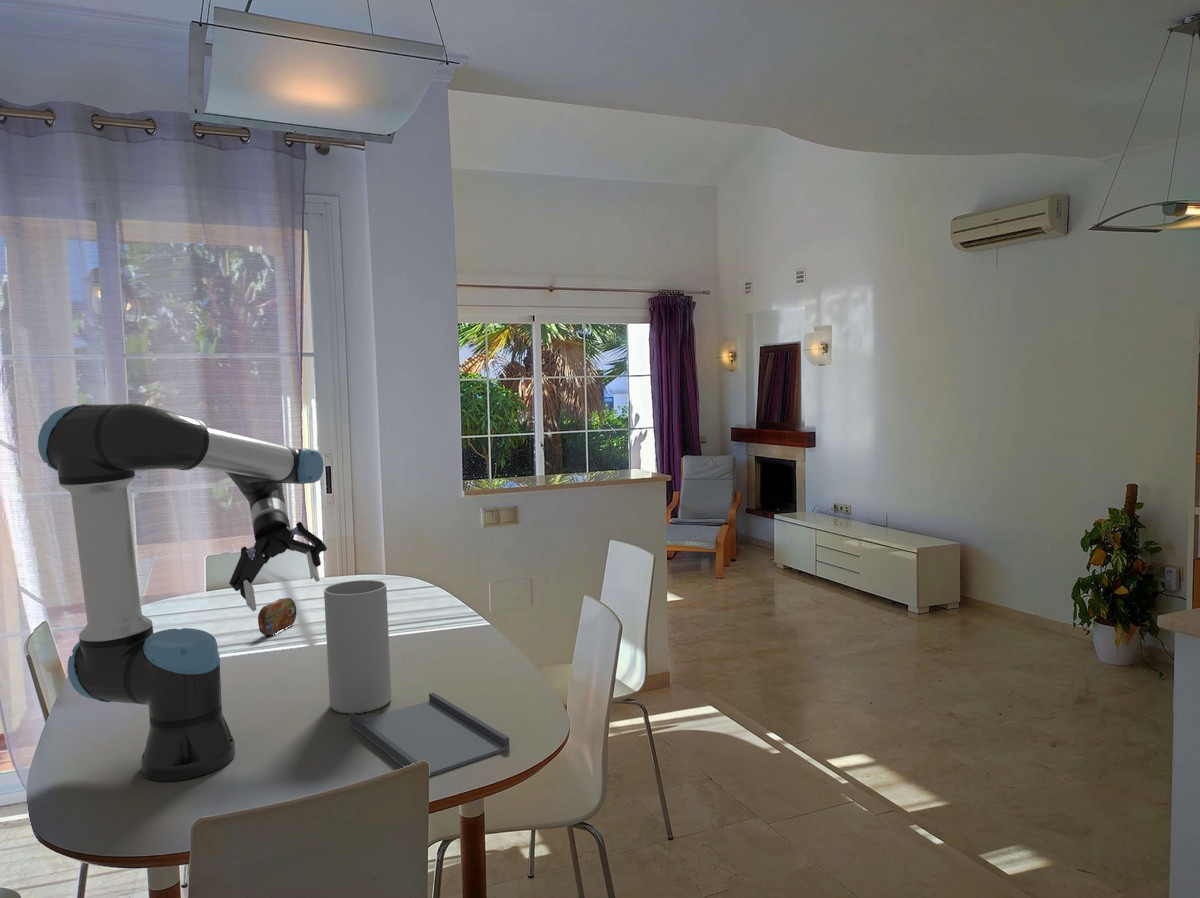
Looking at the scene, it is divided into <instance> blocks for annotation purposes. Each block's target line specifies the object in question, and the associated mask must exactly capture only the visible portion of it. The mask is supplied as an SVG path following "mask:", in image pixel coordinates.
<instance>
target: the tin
mask: <svg viewBox="0 0 1200 898" xmlns="http://www.w3.org/2000/svg"><path fill="white" fill-rule="evenodd" d="M296 619H297V605H296V603H295V601H294V600H293V598H291V597H285V598H284V597H283V598H279V599H276V600H275V601H273V602H270V603H268V604H266V605H264V606H263V607H261V608H260V611H259V612H258V616H257V621H258V622H257V623H258V624H257V625H258V629H259V632H260V633H261V635H263V636H272V635H273V634H275V633H277V632H278V631H280V630H282V629H285V628H286V627H288V626H290V625H292V624H293V625H294V623H295V621H296ZM293 625H292V626H293Z"/></svg>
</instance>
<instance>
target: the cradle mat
mask: <svg viewBox="0 0 1200 898" xmlns="http://www.w3.org/2000/svg"><path fill="white" fill-rule="evenodd" d="M428 700H429V701H428ZM428 700H427V701H424V702H420V703H417V704H413V705H411V706H406V707H403V708H399V709H397V710H396V709H395V710H392V711H388V712H384V713H382V714H377V715H375V716H370V717H366V718H361V716H359V715H358V714H349V715H350V716H349V717H350V718H349V719H350V727H352V726H353V727H354V728H355V729H356V731H357V732H358V731H359V732H360V733H361V734H360V733H359V732H358V733H359V734H360V735H362V734H363V735H364V736H365V737H366V738H365V739H367V740H368V741H369V740H370V741H371V742H370V741H369V742H370V743H372V742H373V743H374V744H375V745H377V746H378V747H379V748H380V749H381V750H380V749H379V748H378V747H377V746H376V747H377V748H378V749H379V750H380V751H382V750H383V751H384V752H385V753H386V754H385V753H384V752H383V751H382V752H383V753H384V754H385V755H387V754H388V755H389V756H390V757H391V758H390V757H389V756H388V755H387V756H388V757H389V758H390V759H392V760H393V761H394V762H395V763H397V765H399V766H400V767H401V768H403V766H407V765H410V764H412V763H416V762H418V761H422V760H426V761H428V762H429V764H430V776H429V777H433V776H434V775H437V774H438V775H439V774H440V773H444V772H447V771H449V770H452V769H453V770H454V769H455V768H459V767H462V766H464V765H467V764H470V763H472V762H475V761H479V760H482V759H485V758H488V757H491V756H495V755H497V754H500V753H502V752H503V753H504V752H505V751H509V750H510V737H508V735H505V734H504V733H502V732H500V731H499V730H497V729H495V728H494V727H492V726H490V725H489V724H487V723H485V722H483V720H480V719H478V718H477V717H475V716H474V715H472V714H470V713H468V712H467V711H465V710H464V709H462V708H460V707H458V706H457V705H455V704H454V703H452V702H450V701H449V700H447V699H445V698H444V697H442V696H440V695H439V694H437V693H435V692H434V691H433V692H430V693H428ZM353 727H352V728H353ZM354 728H353V729H354ZM355 729H354V730H355ZM363 735H362V736H363ZM364 736H363V737H364ZM373 743H372V744H373ZM374 744H373V745H374ZM375 745H374V746H375Z"/></svg>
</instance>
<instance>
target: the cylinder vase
mask: <svg viewBox="0 0 1200 898" xmlns="http://www.w3.org/2000/svg"><path fill="white" fill-rule="evenodd" d="M387 591H388V590H387V583H386V582H384V581H382V580H371V579H368V580H367V579H366V580H365V579H362V580H361V579H360V580H350V581H345V582H339V583H334V584H331V585H328V586H327V587H325V588H324V589H323V596H324V597H323V598H324V614H325V616H324V618H325V619H324V620H325V635H326V636H325V637H326V652H327V654H326V655H327V670H328V671H327V675H328V688H329V689H328V691H329V692H328V694H329V706H330V707H331V709H332V710H333V711H335V712H336V713H339V714H345V713H347V715H352V714H355V713H358V714H364V712H366V713H370V712H373V710H374V711H377V710H380V709H381V707H382V708H384V707H385V706H387V705H388V704H389V703H390V702H391V700H392V676H391V674H392V673H391V658H390V657H391V656H390V655H391V653H390V639H389V636H390V635H389V617H388V613H389V612H388V593H387ZM376 709H377V710H376ZM369 711H370V712H369Z"/></svg>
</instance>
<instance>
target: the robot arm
mask: <svg viewBox="0 0 1200 898" xmlns="http://www.w3.org/2000/svg"><path fill="white" fill-rule="evenodd" d="M37 450H38V453H39V455H40V458H41V460H42V461H43V462H44V463H46V464H47V466H48V468H50V469H53V470H54V471H56V472H57V476H58V485H59V486H60V488H63V489H64V490H66V491H67V492H69V494H70V496H71V498H70V499H71V504H72V505H71V506H72V511H73V520H74V527H75V535H76V543H77V552H78V559H79V567H80V577H81V583H82V591H83V598H84V599H83V601H84V606H85V614H86V615H85V616H86V622H87V624H86V626H84V628H82V630H81V631H80V632H79V634H78V639H79V640H78V642H77V643H76V644H75V645H74V646H73V648H72V650H71V653H72V654H71V655H70V656H69V657H68V662H67V674H68V675H67V676H68V679H69V680H68V681H69V682H70V684H71V686H72V687H73V689H74V690H75V691H76V692H77V693H78V694H80V695H81V696H82V697H84V698H87V699H90V700H96V701H99V702H102V703H103V702H104V703H113V702H115V703H124V704H133V705H134V704H135V705H147V706H148V712H149V713H148V714H149V715H148V716H149V731H148V734H147V739H146V743H145V747H144V752H143V753H142V756H141V759H140V764H141V767H140V768H141V774H142V776H143V777H145V778H146V779H148V780H151V781H156V782H175V781H176V782H177V781H183V780H184V781H185V780H190V779H193V778H198V777H201V776H205V775H208V774H210V773H212V772H215V771H217V770H219V769H222V768H224V767H225V766H226V765H227V764H229V763H230V762H231V761H233V759H234V758H235V755H236V744H235V743H236V742H235V739H234V737H233V735H232V734H231V731H230V728H229V726H228V723H227V722H226V719H225V717H224V715H223V705H222V684H221V682H222V681H221V665H220V664H221V658H220V653H219V648H218V642H217V639H216V638H215V637H214V636H213V635H212V634H211V633H210V632H208V631H206V630H202V629H198V628H197V629H196V628H188V627H183V628H179V629H178V628H169V629H168V628H167V629H163V630H160V631H156V632H154V628H153V627H154V625H153V621H152V620H151V619H150V618H149V617H147V616H145V615H143V612H142V604H141V596H140V588H139V579H138V571H137V562H136V555H135V554H136V553H135V547H134V546H135V545H134V536H133V528H132V519H131V511H130V504H129V495H128V486H129V485H130V483H131V482H132V481H133V480H135V478H136V472H135V471H147V470H149V471H150V470H163V469H164V470H179V471H191V470H193V469H195V468H201V469H205V470H206V469H207V470H213V471H219V472H224V473H225V474H227V475H228V477H229V478H230V479H231V480H232V482H233V483H234V484H235V485H236V487H237V488H238V489H239V491H240V492H241V493H242V494H243V496H244V497H245V498H246V500H247V502H248V504H249V510H250V515H251V524H252V529H253V535H254V540H255V542H254V545H253V546H251V547H248V548H247V546H242V547H241V549H240V555H239V556H240V557H239V559H238V561H237V564H236V566H235V568H234V571H233V573H232V576H231V578H230V580H229V582H228V583H229V585H230V586H231V588H233V590H234V591H236V592H239V591H240V593H239V594H240V595H241V597H242V598H243V599H244V600H245V603H246V605H247V606H248V607H249V609H250V610H251V611H252V612H255V611H257V605H256V597H255V591H254V590H255V589H254V586H253V585H252V583H253V582H254V580H255V579H256V577H257V575H258V574H259V572H260V571H261V570H262V568H263V567H264V565H265V564H267V563H268V562H269V560H270V559H271V558H275V557H276V556H278V555H279V554H284V553H285V552H286V551H287V550H288V551H289V550H290V551H292V552H294V551H296V552H297V553H302V554H304V555H306V559H307V563H308V568H309V573H310V576H311V578H313V580H314V581H315V582H316V583H318V582H319V581H321V578H320V575H319V569H318V567H320V566H321V565H322V563H321V559H320V558H321V557H320V553H322V552H326V551H327V549H328V547H327V546H326V544H325V543H324V541H323V540H322V539H320V538H319V537H318V536H316V535H314V533H312V532H310V531H309V530H308V529H307V528H306V527H305V526H304V524H303V522H301V521H299V522H297V523H296V524H295V525H296V526H295V527H293V528H291V525H290V519H289V514H288V510H287V509H288V508H287V506H286V505H287V504H286V501H285V497H284V496H285V495H284V494H285V493H284V488H283V484H291V485H292V484H295V485H296V484H297V485H305V484H314V483H315V484H316V483H317V482H318V481H319V480H320V479H321V477H322V475H323V473H324V465H325V464H324V459H323V456H322V454H321V453H320V452H319V451H318V450H316V449H314V448H305V447H303V448H294V447H290V446H285V445H281V444H276V443H273V442H270V441H269V442H268V441H264V440H262V439H257V438H252V437H248V436H244V435H240V434H236V433H231V432H229V431H224V430H220V429H217V428H211V427H208V426H206V424H205V423H204V422H203V421H201V420H200V419H198V418H195V417H190V416H186V415H182V414H179V413H176V412H173V411H169V410H166V409H162V408H158V407H154V406H149V405H144V404H138V403H137V404H135V403H123V404H122V403H121V404H89V403H88V404H87V403H86V404H84V403H82V404H79V405H78V404H77V405H70V406H64V407H62V408H60V409H57V410H55V411H54V412H53V413H52V414H51V415H49V416H48V418H47V419H46V420H45V421H44V422H43V424H42V425H41V427H40V430H39V433H38V439H37ZM295 535H297V536H300V537H303V538H304V539H305V540H306V541H307V542H309V543H310V544H309V543H306V542H304V541H303V542H302V541H300V540H296V539H294V538H295Z"/></svg>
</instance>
